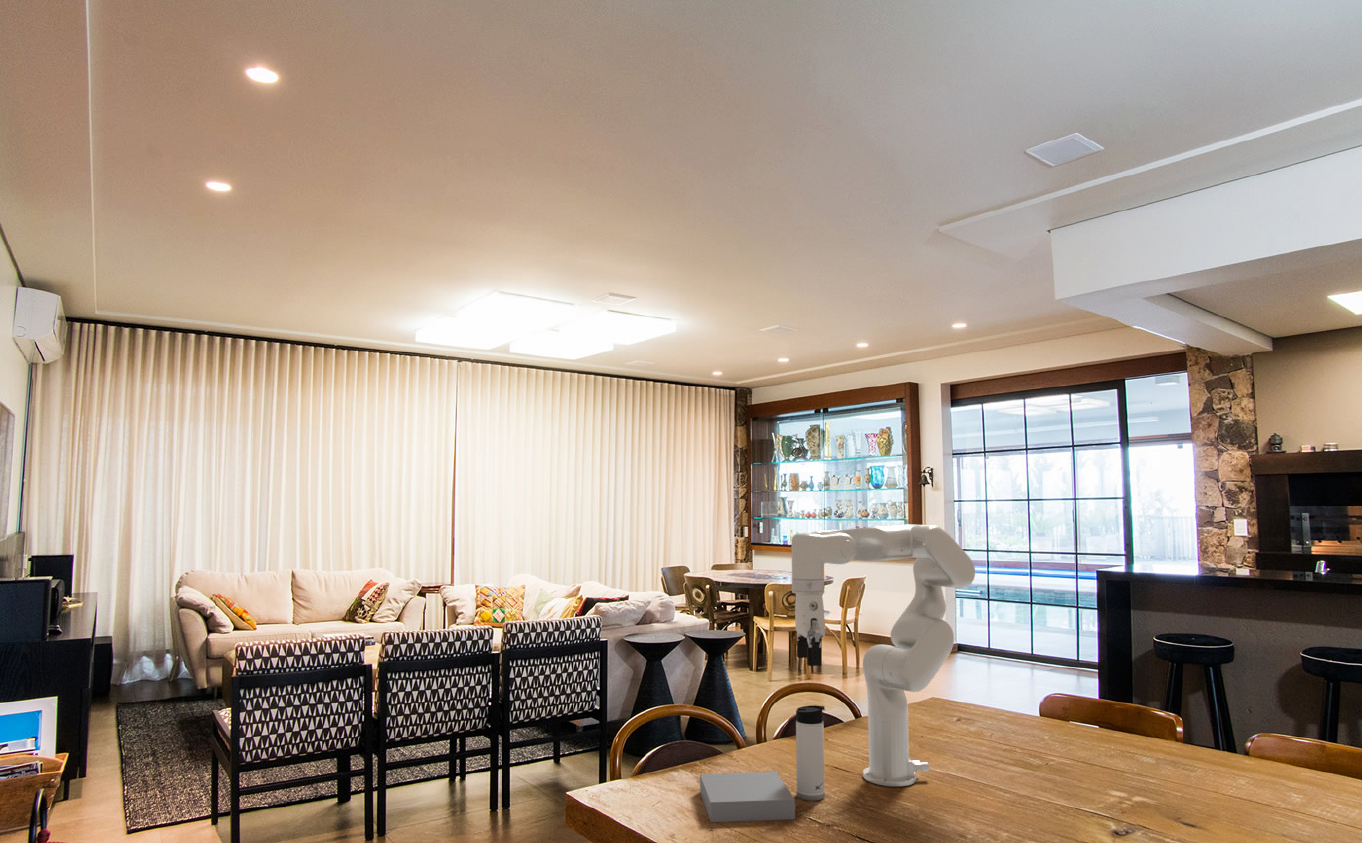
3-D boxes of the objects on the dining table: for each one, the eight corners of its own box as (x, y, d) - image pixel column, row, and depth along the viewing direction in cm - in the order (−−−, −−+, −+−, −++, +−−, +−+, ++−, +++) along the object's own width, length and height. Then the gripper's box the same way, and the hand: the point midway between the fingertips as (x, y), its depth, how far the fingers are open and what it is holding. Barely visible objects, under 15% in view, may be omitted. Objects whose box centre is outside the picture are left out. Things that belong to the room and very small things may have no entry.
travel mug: (825, 802, 181) (824, 709, 183) (796, 799, 182) (794, 708, 184) (826, 792, 187) (825, 703, 189) (797, 790, 188) (796, 701, 191)
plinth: (776, 789, 189) (776, 771, 189) (795, 818, 171) (794, 799, 172) (700, 791, 187) (700, 774, 188) (710, 822, 169) (710, 802, 170)
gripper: (834, 590, 182) (835, 668, 180) (814, 583, 199) (815, 654, 197) (801, 590, 181) (802, 669, 179) (784, 583, 198) (784, 654, 196)
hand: (808, 661), depth 188 cm, fingers open, 9 cm apart
